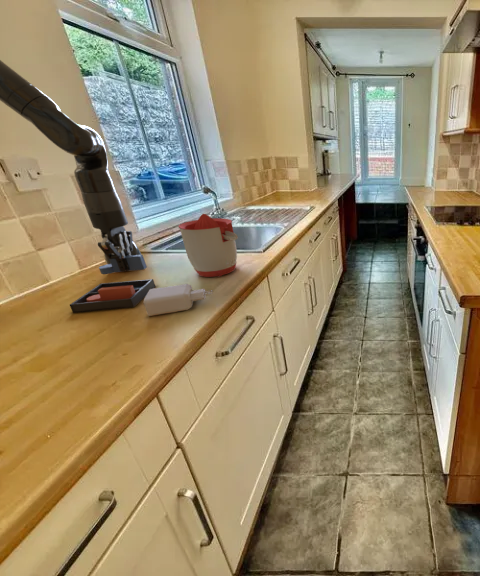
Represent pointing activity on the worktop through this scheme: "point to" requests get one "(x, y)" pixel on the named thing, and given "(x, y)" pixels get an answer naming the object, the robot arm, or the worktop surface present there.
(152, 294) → the charger
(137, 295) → the cutlery tray
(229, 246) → the citrus juicer
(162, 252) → the worktop surface
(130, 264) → the slate-blue spoon
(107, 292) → the terracotta spoon
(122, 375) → the worktop surface
